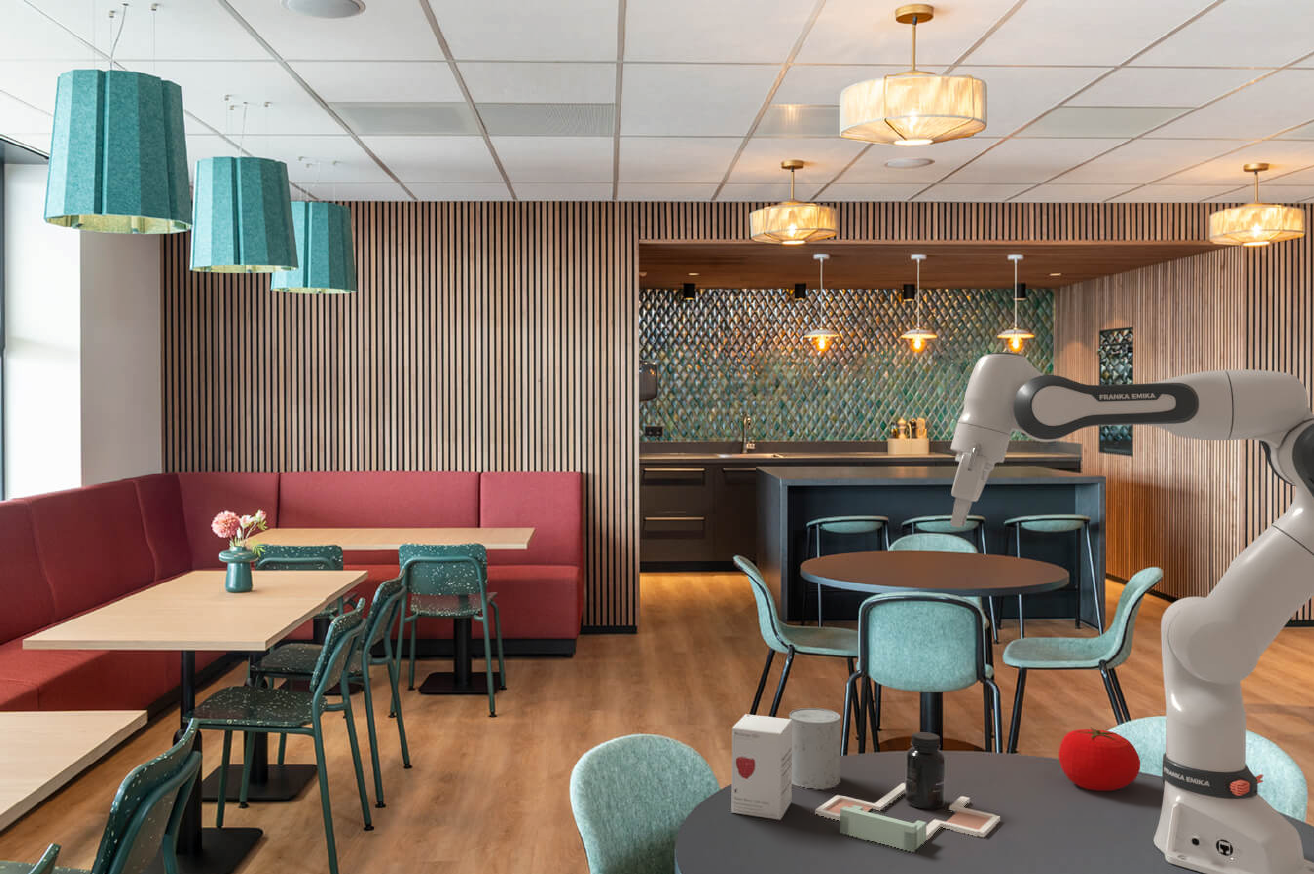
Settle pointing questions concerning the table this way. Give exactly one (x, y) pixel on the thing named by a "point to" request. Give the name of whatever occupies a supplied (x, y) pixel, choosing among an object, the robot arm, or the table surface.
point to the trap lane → (897, 831)
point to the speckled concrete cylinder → (815, 748)
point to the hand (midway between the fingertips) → (957, 525)
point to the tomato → (1098, 759)
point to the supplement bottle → (925, 772)
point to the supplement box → (761, 766)
